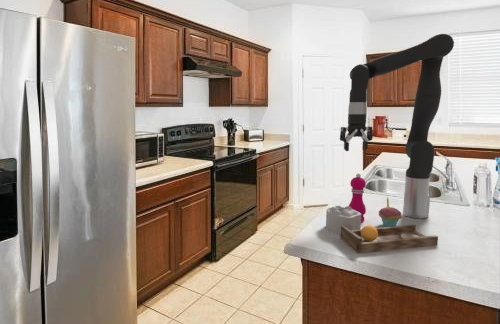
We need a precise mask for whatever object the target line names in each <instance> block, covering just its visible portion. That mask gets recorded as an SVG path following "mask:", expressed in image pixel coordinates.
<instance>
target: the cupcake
mask: <svg viewBox="0 0 500 324" xmlns="http://www.w3.org/2000/svg"><path fill="white" fill-rule="evenodd" d="M388 197H389V196H387V197H386V207H383V208H380V209H379V211H378V216H379V217H380V218H381V221H382V224H383V226H384V227H393V226H397V224H398V222H399V220H401V219H402V218H403V217H402V212H401V211H400V210H399V209H397V208H395V207H390V201H389V198H388Z"/></svg>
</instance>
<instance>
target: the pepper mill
mask: <svg viewBox="0 0 500 324" xmlns="http://www.w3.org/2000/svg"><path fill="white" fill-rule="evenodd" d="M355 176H356V177H352V178H351V180H350V182H349V183H350V187H351V194H352V197H351V200H350V201H349V202H350V203H349V204H348V206H350V207H351V208H352V209H353V210H355V211H357V212H360V213H361V223H364V222H365V216H364V215H366V213H367V210H366V205H365V203H364V198H363V196H364V193H365V188H366V186H367V185H366V183H367V182H366V180H365V179H364V178H363V177H361V173H356V175H355Z"/></svg>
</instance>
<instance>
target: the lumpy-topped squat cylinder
mask: <svg viewBox="0 0 500 324" xmlns="http://www.w3.org/2000/svg"><path fill="white" fill-rule="evenodd" d="M325 215H326V216H325V217H326V218H325V229H326V230H327V231H329V232H331V233H332V234H336V235H339V236H341V226H345V227H347V228H348V229H350V230H359V229H361V226H362V222H361V213H360V212H357V211H355V210H353V209H352V208H351V207H350V206H349V205H348V206H345V207H344V206H341V205H335V206H331V207H328V208H326V214H325Z"/></svg>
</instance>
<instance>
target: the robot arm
mask: <svg viewBox="0 0 500 324" xmlns="http://www.w3.org/2000/svg"><path fill="white" fill-rule="evenodd" d="M454 45H455V41H454V39H453V36H451V35H449V34H447V33H438V34H435V35H433V36H432V37H430V38H428V39H427V40H425V41H423V42H421V43H419V44H416V45H414V46H412V47H411V46H410V47H408V48H405V49H402V50H399V51H396V52H392V53H389V54H387V55H386V54H385V55H384V56H381V57H378V58H376V59H374V60H372V61H370V62H366V63H364V64H363V63H362V64H361V63H359V64H357V65H355V66H354V67H352V68H351V70H350V72H349V78H350V79H351V82H350V83H351V85H350V87H351V89H350V91H349V104H348V109H347V110H348V114H347V127H346V126H342V127H340V135H339V140H340V142H343V150H344V151H345V152H349V151H350V141H351V139H352V138H356V137H358V138H361V140H362V151H367V150H368V148H369V147H368V145H369V142H370V141H373V126H370V125H369V126H368V125H367V126H366V124H367V114H368V113H367V110H368V108H367V104H368V103H367V101H368V85H369V80H370V79H373V78H376V77H379V76H382V75H383V76H384V75H386V74H389V73H392V72H395V71H398V70H399V69H403V68H404V67H407V66H409V65H412V64H415V63H418V62H421V70H420V75H419V79H418V83H417V84H418V85H417V88H416V93H415V99H414V106H413V111H412V119H411V126H410V131H409V134H408V137H407V141H406V144H405V148H404V149H405V154H406V156H407V157H408V158H409V165H408V168H407V169H406V170H405V182H404V194H403V195H404V196H403V207H402V208H403V209H402V214H403V216H406V217H408V218H412V219H425V218H427V217H429V214H430V202H431V195H430V194H429V191H430V179H431V174H432V171H433V166H434V159H435V148H434V145H433V143H432V142H430V141H428V138H429V130H430V127H431V125H432V123H433V121H434V119H435V116H437V113H438V111H439V107H440V103H441V97H442V83H441V67H442V63H443V59H444V57H446V56H448V55H449V54H450V53H451V52H452V50H453V49H454ZM347 132H348V133H347ZM365 132H366V133H365Z"/></svg>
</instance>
